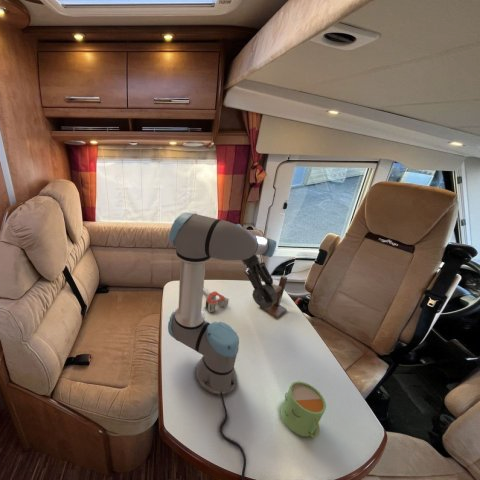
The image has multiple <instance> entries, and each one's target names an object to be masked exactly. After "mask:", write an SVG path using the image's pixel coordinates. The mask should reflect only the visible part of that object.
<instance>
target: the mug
mask: <svg viewBox="0 0 480 480" xmlns="http://www.w3.org/2000/svg"><path fill="white" fill-rule="evenodd" d="M284 398H285V399H284V401H283V403H282V406H281V409H280V416H281V419H282V421H283V423H284V424H285V425H286V426H287V428H288V429H289V430H290V431H292V432H293V433H294V434H296V435H298V436H301V437H310V436H311V437H312V438H317V437H318V436H319V433H320V424H319V423H320V421H321V419H322V417H323V415H324V414H325V412H326V410H327V409H326V408H327V403H326V399H325V398H324V396H323V394H322V393H321V392H320V391H319V390H318V389H317V388H316V387H314V386H313V385H311V384H309V383H307V382H305V381H300V380H299V381H294V382H292V383H291V384H290V386H289V388H288V390H287V392H285V394H284ZM315 430H316V432H315ZM314 433H315V434H314Z"/></svg>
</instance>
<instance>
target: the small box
mask: <svg viewBox="0 0 480 480" xmlns="http://www.w3.org/2000/svg"><path fill="white" fill-rule="evenodd" d="M272 279H273V281H272V282H273V283H272V286H273V288H274V289H275V288H277V287H278V286H279V282H280V280H277V279H274V278H272ZM263 285H266V284H265V283H264V284H263Z"/></svg>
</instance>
